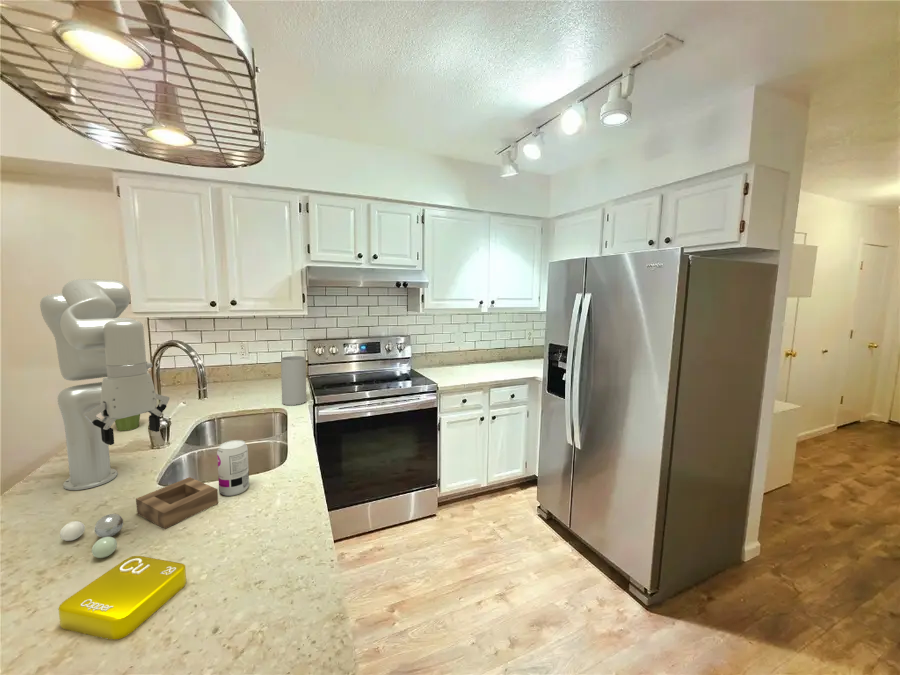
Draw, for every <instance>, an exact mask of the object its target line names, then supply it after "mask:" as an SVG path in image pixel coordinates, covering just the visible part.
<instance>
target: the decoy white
mask: <svg viewBox="0 0 900 675" xmlns="http://www.w3.org/2000/svg"><path fill="white" fill-rule="evenodd" d="M85 529H86V526H85V524H84V523H83V522H82V521H79V520H74V521H69V522H67V523H66V524H65V525H64V526H63V527H62V528H61V529H60V531H59V537H60V538H61V540H63V541H67V542H72V541H75V540H77V539H78V538H80V537H81V536H82V535H83V534H84V532H85Z"/></svg>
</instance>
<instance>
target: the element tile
mask: <svg viewBox="0 0 900 675" xmlns="http://www.w3.org/2000/svg"><path fill="white" fill-rule="evenodd" d="M186 584H187V572H186V565H185V564H184V563H182V562H176V561H171V560H165V559H159V558H154V557H148V556H143V555H132V556H129V557H128V558H125V559H124V560H123V561H121V562H119V563H118V564H116V565H115V566H114V567H112V568H111V569H109V570H108V571H106V572H105V573H103V574H102V575H100V576H98V577H97V578H96V579H95V580H93V581H91V582H90V583H89V584H87V585H85V586H84V587H83V588H81V589H79V590H78V591H77V592H75V593H73V594H72V595H70V596H69V597H68V598H66V599H65V600H64V601H62V603H60V604H59V606H58V608H57V609H58V619H59V625H60V627H61V628H60V629H63V630H66V631H71V632H74V633H79V634H84V635H87V634H88V636H92V637H96V636H97V638H100V637H102V638H101V639H105V638H108V639H107V640H109V639H113V640H112V641H115V640H114V639H118V640H121V639H124V638H125V637H128V636H129V635H131V634H132V633H133V632H134V631H136V629H138V628H139V627H140V626H141V625H142V624H143V623H144V622H145V621H147V620H148V619H149V618H150V617H151V616H152V615H154V614H155V612H157V611H158V610H159V609H160V608H162V607H163V605H165V604H166V603H167V602H168V601H169V600H171V599H172V598H173V597H174V596H175V595H176V594H178V593H179V592H180V591H181V590H182V589H183V588H184V587H185V586H186Z"/></svg>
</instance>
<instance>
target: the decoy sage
mask: <svg viewBox="0 0 900 675" xmlns="http://www.w3.org/2000/svg"><path fill="white" fill-rule="evenodd" d="M117 546H118V542H117V539H116V538H115V537H113V536H111V537H100V538H99V539H97V541H95V542H94V544H93V545H92V548H91V554H92V555H93V557H95V558H97V559H104V558H107V557H108V556H110V555H112V554H113V553H114V552H115V551H116V549H117Z"/></svg>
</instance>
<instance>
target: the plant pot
mask: <svg viewBox="0 0 900 675" xmlns="http://www.w3.org/2000/svg"><path fill="white" fill-rule="evenodd" d="M140 418H141V414H138V415H134V416H130V417H125V418H121V419H116V420H115V422H114V424H115V427H116V430H117V431H119V432H123V431H127V432H128V431H132V430H135V429H137V428H139V426H140V420H141V419H140Z"/></svg>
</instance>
